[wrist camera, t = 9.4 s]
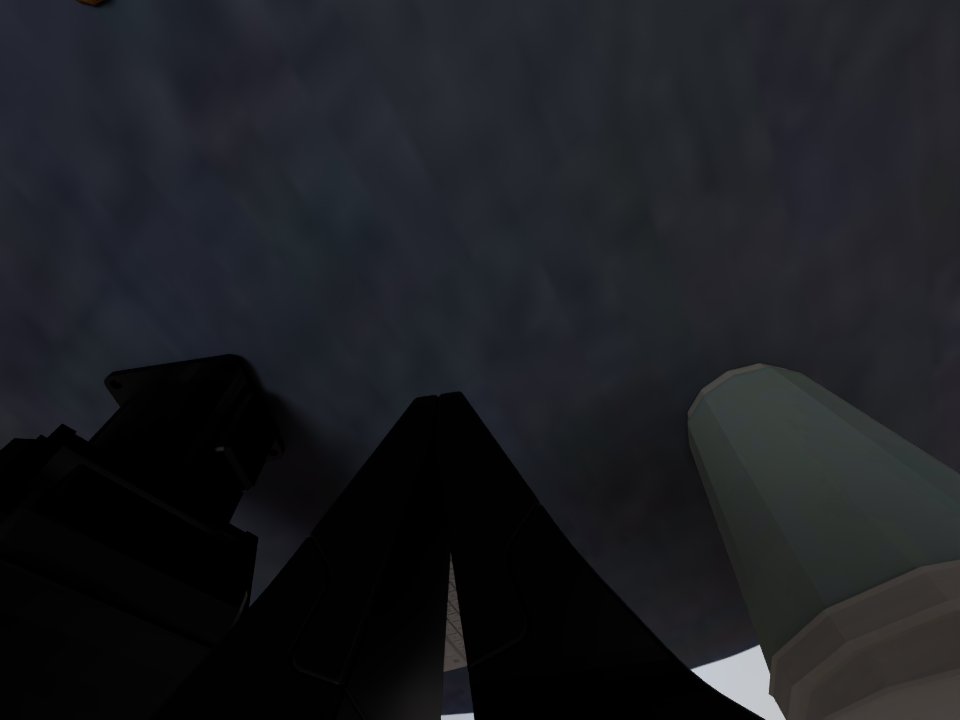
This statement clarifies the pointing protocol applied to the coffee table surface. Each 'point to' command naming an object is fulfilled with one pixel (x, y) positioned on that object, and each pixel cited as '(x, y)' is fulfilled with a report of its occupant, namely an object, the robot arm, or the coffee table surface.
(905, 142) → the coffee table surface
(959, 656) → the disposable coffee cup
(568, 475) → the coffee table surface
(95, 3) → the primitive tool
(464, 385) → the coffee table surface
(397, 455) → the robot arm
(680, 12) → the coffee table surface
